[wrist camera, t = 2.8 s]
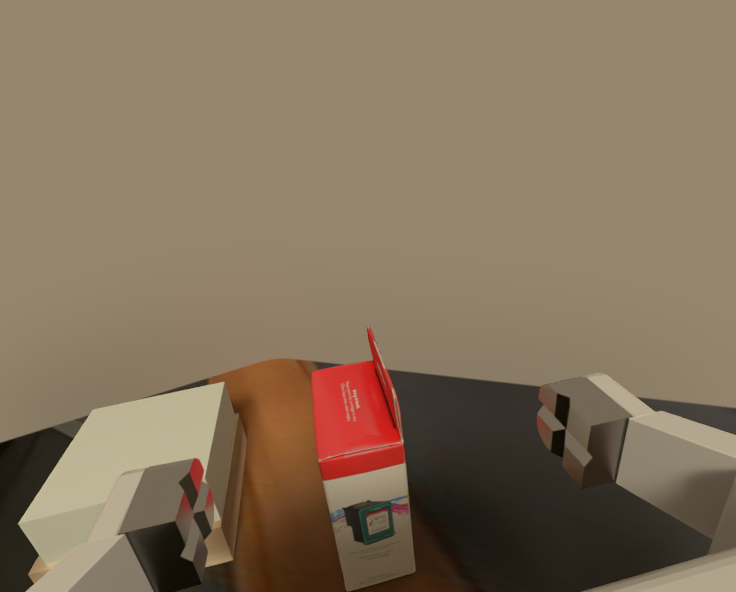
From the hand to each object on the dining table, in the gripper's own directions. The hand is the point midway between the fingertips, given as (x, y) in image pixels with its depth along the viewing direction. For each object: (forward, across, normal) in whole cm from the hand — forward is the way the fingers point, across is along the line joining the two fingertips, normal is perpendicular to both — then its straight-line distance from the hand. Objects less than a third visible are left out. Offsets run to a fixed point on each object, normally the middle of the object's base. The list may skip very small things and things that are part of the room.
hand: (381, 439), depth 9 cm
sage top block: (+19, +16, +17) cm, 30 cm away
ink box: (+13, 0, +21) cm, 24 cm away
